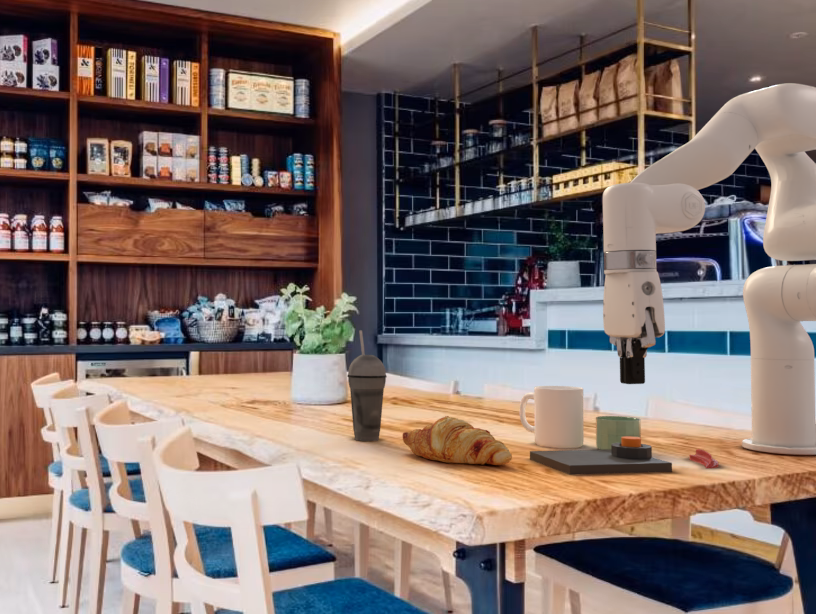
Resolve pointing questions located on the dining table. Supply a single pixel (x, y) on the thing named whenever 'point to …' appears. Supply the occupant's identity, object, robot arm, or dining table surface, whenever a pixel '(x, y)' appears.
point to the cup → (556, 416)
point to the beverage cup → (366, 394)
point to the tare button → (631, 441)
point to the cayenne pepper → (704, 459)
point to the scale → (603, 460)
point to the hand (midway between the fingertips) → (632, 383)
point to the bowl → (615, 430)
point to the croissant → (457, 443)
